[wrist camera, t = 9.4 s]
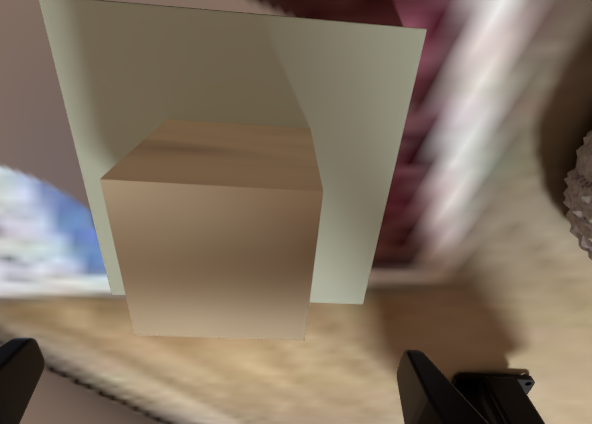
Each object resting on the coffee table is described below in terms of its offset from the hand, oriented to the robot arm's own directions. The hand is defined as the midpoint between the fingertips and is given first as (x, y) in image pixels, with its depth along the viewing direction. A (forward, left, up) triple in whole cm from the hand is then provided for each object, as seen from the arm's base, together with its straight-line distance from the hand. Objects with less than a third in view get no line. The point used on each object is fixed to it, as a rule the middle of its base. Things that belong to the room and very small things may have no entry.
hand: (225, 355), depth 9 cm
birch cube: (0, +1, -9) cm, 9 cm away
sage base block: (0, +1, -12) cm, 12 cm away
